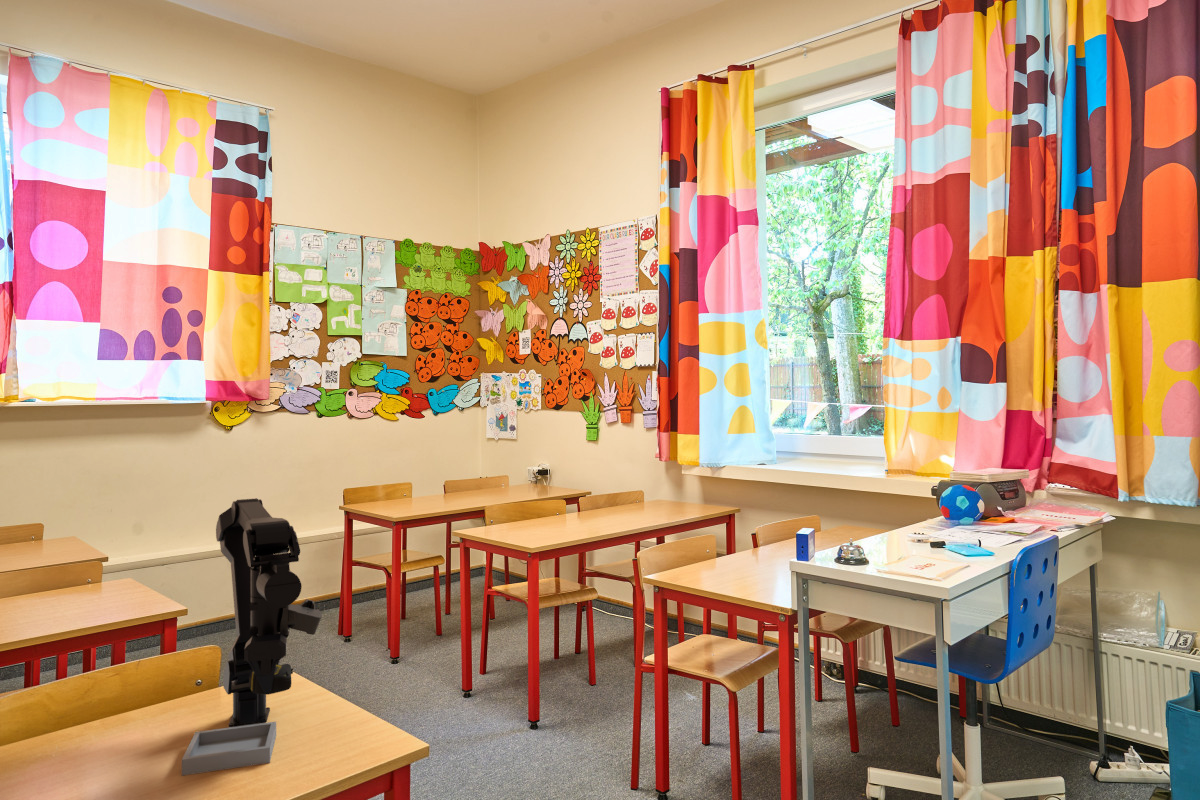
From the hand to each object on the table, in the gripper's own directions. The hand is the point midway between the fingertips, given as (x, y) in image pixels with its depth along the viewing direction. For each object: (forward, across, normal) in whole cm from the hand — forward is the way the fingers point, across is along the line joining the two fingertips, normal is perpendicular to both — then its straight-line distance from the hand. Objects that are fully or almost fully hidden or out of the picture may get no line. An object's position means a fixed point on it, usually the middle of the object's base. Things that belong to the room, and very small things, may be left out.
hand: (268, 684), depth 128 cm
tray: (+11, 0, +6) cm, 13 cm away
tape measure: (+1, 0, -1) cm, 2 cm away
